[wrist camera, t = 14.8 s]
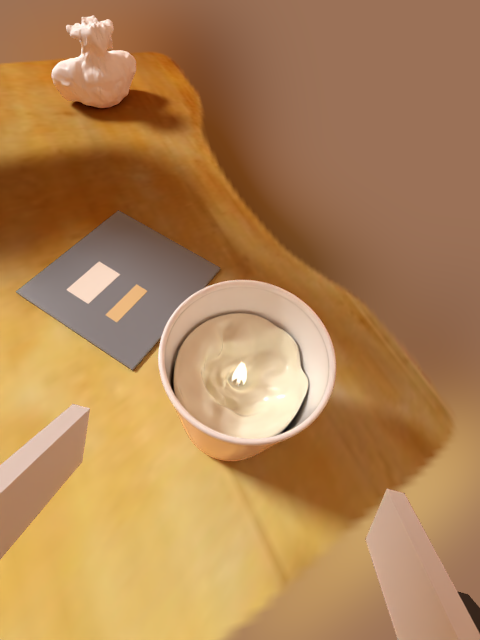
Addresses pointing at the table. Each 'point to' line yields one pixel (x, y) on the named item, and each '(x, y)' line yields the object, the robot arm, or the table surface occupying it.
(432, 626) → the robot arm
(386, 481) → the table surface
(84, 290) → the gray tile
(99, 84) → the bust
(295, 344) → the candle holder
